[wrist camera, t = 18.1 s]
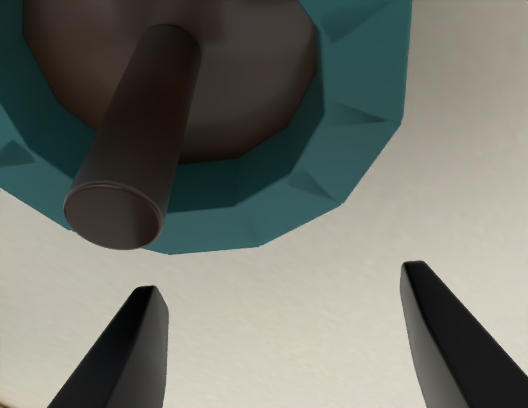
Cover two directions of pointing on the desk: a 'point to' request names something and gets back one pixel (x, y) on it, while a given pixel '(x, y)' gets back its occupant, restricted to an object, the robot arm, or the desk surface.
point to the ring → (248, 165)
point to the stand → (165, 94)
